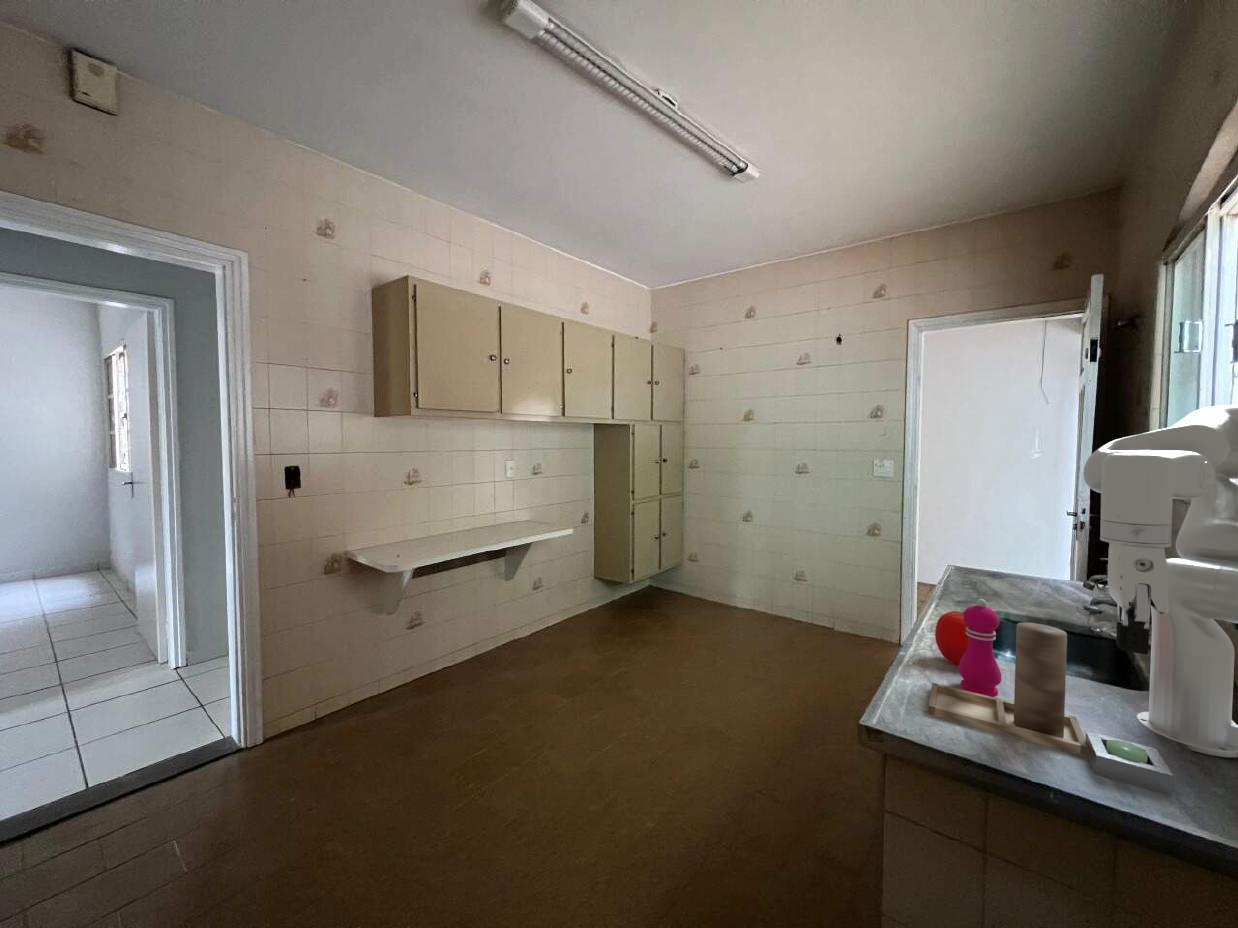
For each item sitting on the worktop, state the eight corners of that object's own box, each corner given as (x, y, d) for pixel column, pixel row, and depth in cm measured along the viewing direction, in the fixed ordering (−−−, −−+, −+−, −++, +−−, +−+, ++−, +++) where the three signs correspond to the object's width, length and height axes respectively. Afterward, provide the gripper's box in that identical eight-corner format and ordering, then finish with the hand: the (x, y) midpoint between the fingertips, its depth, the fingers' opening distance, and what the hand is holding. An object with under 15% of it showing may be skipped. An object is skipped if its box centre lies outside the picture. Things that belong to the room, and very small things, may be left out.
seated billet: (1060, 726, 88) (1063, 627, 87) (1066, 744, 82) (1070, 639, 82) (1012, 714, 92) (1015, 619, 91) (1015, 731, 86) (1018, 630, 86)
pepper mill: (1008, 704, 97) (1011, 605, 97) (968, 700, 99) (970, 602, 98) (989, 687, 104) (991, 595, 104) (951, 683, 106) (953, 592, 105)
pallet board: (1075, 730, 88) (1075, 716, 88) (1088, 762, 79) (1089, 747, 79) (931, 694, 101) (932, 682, 101) (928, 718, 92) (928, 705, 92)
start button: (1141, 771, 76) (1142, 745, 76) (1150, 786, 73) (1151, 760, 73) (1102, 760, 79) (1103, 736, 79) (1109, 775, 75) (1110, 749, 75)
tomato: (933, 651, 123) (934, 601, 123) (986, 661, 118) (988, 608, 117) (935, 668, 113) (937, 614, 113) (994, 679, 108) (995, 622, 108)
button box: (1154, 773, 77) (1155, 748, 77) (1172, 802, 70) (1173, 775, 70) (1085, 754, 81) (1085, 730, 81) (1095, 780, 75) (1096, 755, 75)
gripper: (1189, 544, 67) (1185, 676, 67) (1154, 528, 79) (1151, 639, 79) (1112, 539, 71) (1109, 662, 72) (1090, 524, 83) (1088, 630, 84)
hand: (1132, 650), depth 76 cm, fingers closed
